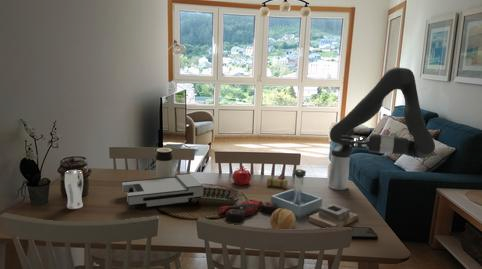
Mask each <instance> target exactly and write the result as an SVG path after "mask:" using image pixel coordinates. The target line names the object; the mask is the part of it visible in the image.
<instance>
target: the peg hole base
mask: <svg viewBox="0 0 482 269" xmlns="http://www.w3.org/2000/svg"><path fill="white" fill-rule="evenodd" d="M358 218H359V214H357V213H355V212H352V211H351V209H350V208H347V207H344V206H341V205H339V204H336V203H332V202H330V203H328V204H325V205H322V207H320V208H319V210H318V211H317V212H315V213H312V215H311V214H310V215H309V216H308V221H309V222H311V223H313V224H316V225H318V226H321V227H323V228H326V229H328V228H327V227H341V228H342V227H345V226H347V225H348V224H351V223H353V222H355V221H357V220H358Z"/></svg>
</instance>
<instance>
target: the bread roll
mask: <svg viewBox="0 0 482 269" xmlns="http://www.w3.org/2000/svg"><path fill="white" fill-rule="evenodd" d="M296 218H297V217H295V215H294V213H293V212H292V211H290V210H288V209H283V208H278V209H276V210H275V211H274V212H273V213H271V216H270V219H269V222H270V227H271V229H272V228H273V229H292V230H293V228H294V227H295V225H296V222H297V219H296ZM273 229H272V230H273Z"/></svg>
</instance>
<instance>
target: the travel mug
mask: <svg viewBox="0 0 482 269" xmlns="http://www.w3.org/2000/svg"><path fill="white" fill-rule="evenodd" d="M156 151H157V152H156V153H157V154H156V155H155V178H166V177H173V154H172V151H173V149H172V148H169V147H160V148H157V149H156Z"/></svg>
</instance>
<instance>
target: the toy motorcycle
mask: <svg viewBox="0 0 482 269" xmlns="http://www.w3.org/2000/svg"><path fill="white" fill-rule="evenodd" d="M259 209H260V210H261V211H262V212H264V213H266V214H272V213H273V212H274V211H275V210H276V209H278V207H277V205H275V204H274V203H271V201H264V202H263V201H261V200H255V199H248V200H246V201H245V200H244V201H242V202H241V203H240V204H239V205H223V206H220V207H219V208H218V211H219V212H220V213H222V214H224V213H225V218H226V219H227V220H229V221H231V222H233V223H234V222H236V223H237V222H242V221H243V220H244V219H245V218H246V216H247V217H248V216H252V215H253V214H254V213H256V212H258V210H259Z"/></svg>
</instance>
